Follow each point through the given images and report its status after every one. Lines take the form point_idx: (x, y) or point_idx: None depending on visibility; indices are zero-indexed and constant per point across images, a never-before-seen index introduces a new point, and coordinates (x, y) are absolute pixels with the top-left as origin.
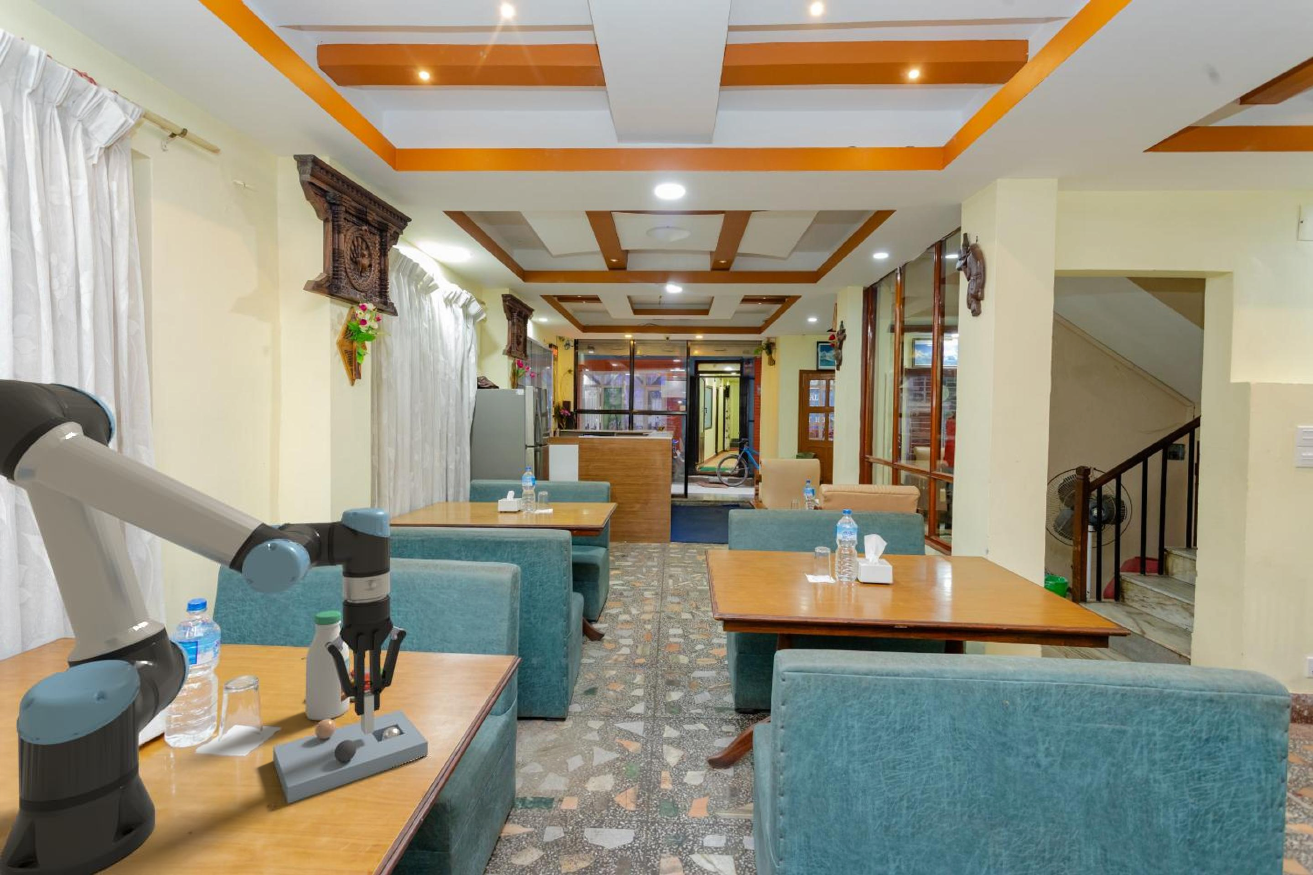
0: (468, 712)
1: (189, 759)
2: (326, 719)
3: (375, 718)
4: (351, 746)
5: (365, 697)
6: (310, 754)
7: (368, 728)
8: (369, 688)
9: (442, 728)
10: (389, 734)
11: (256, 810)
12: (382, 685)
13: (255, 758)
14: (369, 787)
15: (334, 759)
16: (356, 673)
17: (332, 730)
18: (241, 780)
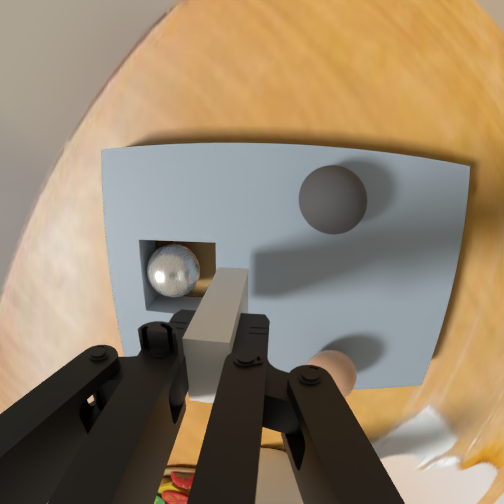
0: (21, 287)
1: (471, 425)
2: None
3: None
4: (323, 176)
5: (225, 342)
6: (386, 299)
7: (234, 275)
8: (179, 479)
9: (67, 259)
10: (176, 260)
11: (491, 188)
12: (127, 367)
13: (424, 388)
14: (287, 89)
15: None
16: (257, 475)
17: (319, 357)
18: (471, 324)
